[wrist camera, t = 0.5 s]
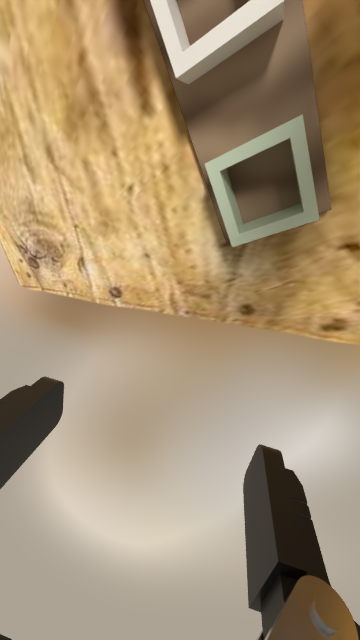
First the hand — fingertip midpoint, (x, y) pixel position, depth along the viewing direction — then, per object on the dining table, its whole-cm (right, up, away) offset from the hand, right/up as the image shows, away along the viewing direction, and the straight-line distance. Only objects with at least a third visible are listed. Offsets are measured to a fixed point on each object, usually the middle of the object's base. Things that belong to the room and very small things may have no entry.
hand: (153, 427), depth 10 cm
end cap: (+11, +20, +19) cm, 30 cm away
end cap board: (+8, +26, +16) cm, 31 cm away
